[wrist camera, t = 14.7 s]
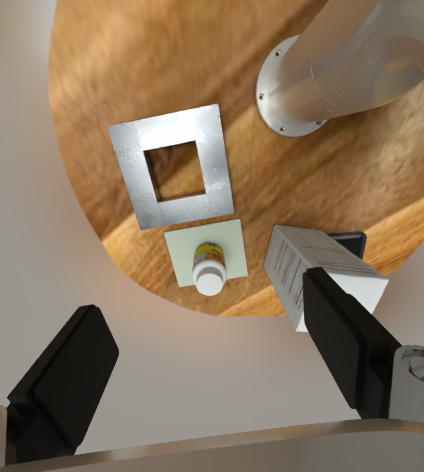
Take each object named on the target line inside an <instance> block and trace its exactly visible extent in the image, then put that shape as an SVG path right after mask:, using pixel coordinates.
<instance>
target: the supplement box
mask: <svg viewBox="0 0 424 472" xmlns="http://www.w3.org/2000/svg"><path fill="white" fill-rule="evenodd" d="M319 266H320V267H322V268H323V269H324V270H325V271H326V272H327V273H328V274H329V275H330V276H331V277H332V278H333V280H334V281H335V282H336V283H337V284H338V285H339V286H340V287H341V288H342V289H343V290H344V291H345V292H346V293H347V294H348V293H349V294H351V295H353V296H354V297H355V298H356V299H357V300H358V301H359V302H360V303H361V304H362V305H363V306H364V307H365V308H366V309H367V310H368V311H369V312H370V313H371V314H372V313H373V311H374V309H375V307H376V305H377V303H378V301H379V299H380V298H381V296H382V293H383V291H384V289H385V287H386V285H387V283H388V281H389V279H388V278H387V277H385V276H384V275H382V274H381V273H380V272H378V271H377V270H375V269H374V268H373V267H371V266H370V265H368V264H367V263H366V262H364V261H363V260H361V259H360V258H358V257H357V256H356V255H354V254H353V253H351V252H350V251H348V250H347V249H346V248H345V247H343V246H342V245H341V244H339V243H338V242H336V241H335V240H334V239H332V238H331V237H329V236H328V235H327V234H325V233H324V232H322V231H321V230H316V229H309V228H300V227H292V226H284V225H276V224H275V225H274V227H273V231H272V235H271V239H270V243H269V247H268V250H267V254H266V258H265V262H264V265H263V267H264V269H265V271H266V273H267V274H268V276H269V278H270V280H271V282H272V284H273V287H274V289H275V290H276V292H277V294H278V296H279V298H280V300H281V302H282V304H283V306H284V308H285V310H286V312H287V314H288V317H289V319H290V320H291V323H292V325H293V327H294V329H295V330H296V331H303V332H308V330H307V328H306V326H305V323H304V308H303V278H302V274H303V273H304V272H306V269H307V268H313V267H319Z"/></svg>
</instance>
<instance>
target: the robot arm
mask: <svg viewBox="0 0 424 472" xmlns="http://www.w3.org/2000/svg"><path fill="white" fill-rule="evenodd" d="M275 53H277V54H278V57H277V56H276V55H275ZM423 79H424V0H329V1H328V2H327V4H326V5H325V6H324V7H323V8H322V10H321V11H320V12H319V13H318V14H317V16H316V17H315V18H314V19H313V20H312V22H311V23H310V24H309V25H308V26H307V28H306V29H305V30H304V31H303V32H302V33H301V34H299V35H295V36H292V37H289V38H288V39H286V40H284V41H282V42H281V43H280V44H278V45H277V46H276V47H275V48H274V49H273V50H272V51H271V53H270V54H269V55H268V56H267V58H266V59H265V61H264V62H263V64H262V66H261V68H260V71H259V73H258V76H257V80H256V86H255V103H256V107H257V111H258V113H259V115H260V118H261V119H262V121H263V122H264V124H265V125H266V126H267V127H268V128H269V129H270V130H271V131H273V132H275V133H276V134H279V135H281V136H285V137H299V136H304V135H307V134H309V133H312V132H314V131H315V130H317V129H318V128H320V127H321V126H322V125H323V124H324V123H326V122H327V120H328V119H331V118H335V117H339V116H344V115H348V114H353V113H357V112H361V111H365V110H369V109H373V108H377V107H380V106H383V105H386V104H388V103H391V102H393V101H395V100H396V99H398V98H400V97H402V96H403V95H405V94H406V93H408V92H409V91H410V90H412V89H413V88H414V87H415V86H417V85H418V84H419V83H420V82H421V81H422V80H423ZM259 96H261V97H262V99H261V100H260V99H259ZM317 121H318V123H317V124H316V122H317ZM280 128H282V131H280ZM302 278H303V308H304V323H305V326H306V328H307V330H308V332H309V334H310V336H311V338H312V339H313V341H314V343H315V345H316V347H317V348H318V350H319V352H320V354H321V355H322V358H323V359H324V361H325V363H326V365H327V367H328V368H329V370H330V372H331V374H332V376H333V377H334V380H335V381H336V383H337V385H338V387H339V389H340V390H341V392H342V394H343V396H344V398H345V400H346V401H347V403H348V405H349V406H350V408H352V409H356V410H357V412H358V413H359V415H360V417H361V419H357V420H344V421H335V422H326V423H316V424H307V425H298V426H290V427H282V428H274V429H266V430H258V431H251V432H242V433H234V434H227V435H219V436H211V437H204V438H196V439H189V440H181V441H173V442H166V443H159V444H151V445H144V446H136V447H129V448H122V449H115V450H107V451H100V452H93V453H86V454H79V455H74V454H75V451H76V449H77V447H78V446H79V445H80V444H81V443H82V441H83V439H84V437H85V435H86V432H87V430H88V428H89V425H90V423H91V420H92V418H93V416H94V413H95V411H96V409H97V406H98V404H99V402H100V399H101V397H102V394H103V392H104V390H105V387H106V385H107V382H108V380H109V378H110V375H111V373H112V371H113V368H114V366H115V364H116V361H117V359H118V356H119V349H118V347H117V345H116V342H115V340H114V338H113V336H112V334H111V332H110V330H109V328H108V325H107V323H106V321H105V319H104V317H103V314H102V312H101V310H100V309H99V307H96V306H95V305H93V304H92V305H86V306H81V307H79V308H78V309H77V310H76V311H75V313H74V314H73V315H72V316H71V318H70V319H69V320H68V321H67V323H66V324H65V325H64V326H63V328H62V329H61V330H60V332H59V333H58V334H57V335H56V337H55V338H54V339H53V340H52V341H51V343H50V344H49V345H48V346H47V348H46V349H45V350H44V351H43V353H42V354H41V355H40V357H39V358H38V359H37V360H36V361H35V363H34V364H33V365H32V366H31V368H30V369H29V370H28V372H27V373H26V374H25V375H24V377H23V378H22V379H21V380H20V382H19V383H18V384H17V385H16V387H15V388H14V389H13V390H12V392H11V393H10V394H9V395H8V397H7V398H8V400H9V401H10V402H11V403H10V404H9V406H8V407H7V408H6V407H5V406H3V405H0V472H424V347H422V346H418V345H405V346H402V345H401V344H400V343H399V342H398V341H397V340H396V339H395V338H394V337H393V336H392V335H391V334H390V333H389V332H388V331H387V330H386V329H385V328H384V327H383V326H382V325H381V324H380V323H379V322H378V321H377V319H376V318H375V317H373V315H372V314H371V313H370V312H369V311H368V310H367V309H366V308H365V307H364V306H363V305H362V304H361V303H360V302H359V301H358V300H357V299H356V298H355V297H354V296H353V295H351V294H349V293H348V294H347V293H346V292H345V291H344V290H343V289H342V288H341V287H340V286H339V285H338V284H337V283H336V282H335V281H334V280H333V278H332V277H331V276H330V275H329V274H328V273H327V272H326V271H325V270H324V269H323V268H322V267H320V266H319V267H313V268H307V269H306V272H304V273H303V274H302ZM372 418H373V419H372Z"/></svg>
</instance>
